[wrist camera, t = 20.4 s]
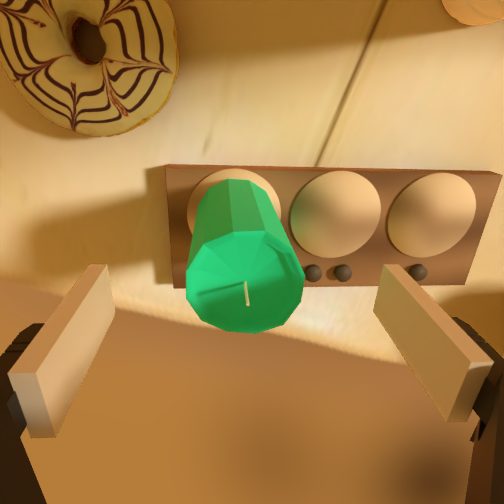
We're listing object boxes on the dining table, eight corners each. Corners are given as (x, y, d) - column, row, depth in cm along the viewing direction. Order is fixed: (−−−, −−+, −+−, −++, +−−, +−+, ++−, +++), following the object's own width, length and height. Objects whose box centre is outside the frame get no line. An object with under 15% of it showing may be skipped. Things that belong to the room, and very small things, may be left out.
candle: (290, 219, 27) (338, 306, 16) (233, 265, 28) (241, 375, 17) (239, 160, 25) (255, 216, 14) (179, 214, 26) (151, 302, 15)
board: (167, 162, 26) (164, 168, 24) (489, 169, 28) (508, 175, 26) (175, 279, 30) (172, 292, 28) (454, 276, 33) (468, 288, 31)
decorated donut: (115, -100, 20) (94, -140, 16) (210, 85, 24) (209, 84, 21) (-28, -2, 21) (-75, -20, 18) (87, 157, 25) (67, 167, 22)
